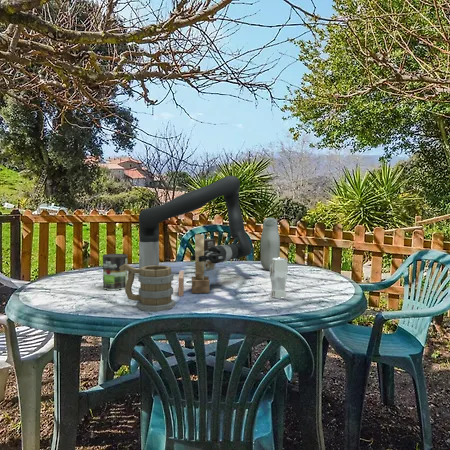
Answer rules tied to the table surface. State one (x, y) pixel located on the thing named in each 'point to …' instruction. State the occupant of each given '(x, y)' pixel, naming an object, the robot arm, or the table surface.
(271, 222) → the grey water bottle
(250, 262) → the table surface
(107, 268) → the coffee can
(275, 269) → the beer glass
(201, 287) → the cradle
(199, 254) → the dowel
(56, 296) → the table surface
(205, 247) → the coffee box
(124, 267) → the tankard
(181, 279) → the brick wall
